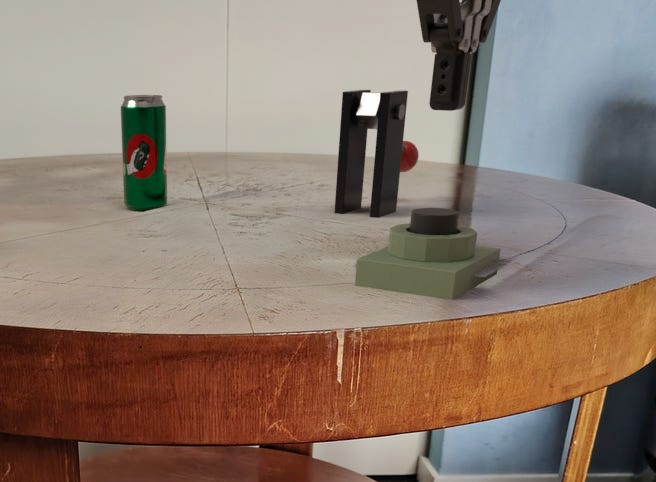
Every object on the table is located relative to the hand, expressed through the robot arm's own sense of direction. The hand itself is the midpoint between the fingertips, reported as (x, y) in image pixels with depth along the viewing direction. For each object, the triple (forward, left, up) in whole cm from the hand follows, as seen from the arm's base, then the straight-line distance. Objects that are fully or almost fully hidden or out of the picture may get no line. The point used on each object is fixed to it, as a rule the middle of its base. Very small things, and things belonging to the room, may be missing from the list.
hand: (446, 109), depth 67 cm
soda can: (+41, -16, -13) cm, 46 cm away
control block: (0, 0, -13) cm, 13 cm away
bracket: (+15, -20, -13) cm, 28 cm away
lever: (+15, -24, -6) cm, 29 cm away
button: (0, 0, -9) cm, 9 cm away
